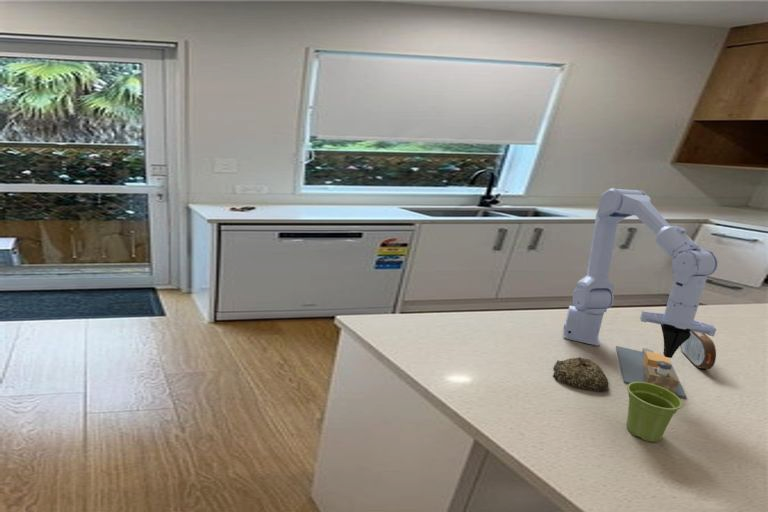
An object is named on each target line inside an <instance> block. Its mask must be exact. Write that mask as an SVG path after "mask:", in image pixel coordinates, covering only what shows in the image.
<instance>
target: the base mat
mask: <svg viewBox="0 0 768 512" xmlns="http://www.w3.org/2000/svg"><path fill="white" fill-rule="evenodd" d="M615 349H616V354H617V358H618V362H619V365H620V370H621V371H620V372H621V375H622V380H623V383H624V384H626V385H628V384H630V383H632V382H644V380H643V375H644V372H645V368H644V365H643V364H644V362H643V355H642V351H641V350H638V349H637V350H636V349H632V348H628V347H623V346H619V345H616V346H615ZM670 371H674V372H675V374H676V376H677V378H678V380H679V377H678V375H677V372H676V370H675V368H674V365H672V367H671V369H670ZM675 395H676V396H677V397H679V398H681V399H685V400H686V399H687V398H688V397H687V394H686V393H685V390H684V388H683V386H682V383H681V381H680V380H679V383H678V387H677V390H676V393H675Z"/></svg>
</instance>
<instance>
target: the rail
mask: <svg viewBox="0 0 768 512" xmlns="http://www.w3.org/2000/svg"><path fill="white" fill-rule="evenodd" d="M641 350H642V351H641V352H642V355H643V357H644V354H645V351H649V352H653V353H655V352H654V350H652V349H650V348H649V349H648V348H644V347H643V348H642V349H641Z"/></svg>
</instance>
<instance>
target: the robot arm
mask: <svg viewBox="0 0 768 512" xmlns="http://www.w3.org/2000/svg"><path fill="white" fill-rule="evenodd" d="M651 200H652V199H651V197H650V196H649V195H647V194H646V192H645V191H644V190H641V189H634V190H633V189H624V188H623V189H621V188H612V187H611V188H608V189H607V190H605V191H604V192H603V193H601V194H600V196H599V200H598V206H597V212H596V214H595V220H594V227H593V233H592V240H591V245H590V252H589V259H588V263H587V264H588V265H587V272H586V275H585V276H584V277H583V278H581V279H579V280H578V281H577V282H576V287H575V289H574V291H573V292H572V303H573V305H569V306H568V310H567V313H566V317H565V318H566V319H565V322H564V323H563V324H564V325H563V328H562V329H563V338H564V339H567V340H571V341H575V342H580V343H583V344H584V343H585V344H588V345H592V346H597V347H598V346H600V345H601V343H600V339H599V334H600V331H601V327H602V323H603V318H604V313H607V310H609V309H610V308H611V307H612V306H613V304H614V302H615V297H614V284H612V282H611V281H610V280H609V272H610V268H611V261H612V255H613V250H614V243H615V237H616V232H617V231H616V230H617V227H618V226H617V225H618V223H620V222H621V221H623V220H624V219H626V218H628V217H632V216H635V217H637V218H638V220H640V221H641V222H642V223H643V224H644V225H645V226H646V227H647V228H649V230H651V231H652V232H653V233H654V234H655V235H656V238H655V243H656V244H657V245H658V246H659V247H660V248H661V250H662V251H664V253H665V254H666V255H668V257H669V259H670V260H671V261H672V262H671V263H672V270H673V275H672V278H673V283H672V285H671V289H670V293H669V297H668V299H667V304H666V308H665V311H664V313H660V312H658V313H657V312H650V311H649V312H648V311H643V310H642V311H641V314H640V317H639V319H640V322H641V323H643V322H644V323H652V324H657V325H660V327H661V331H662V336H663V354H662V355H664V356H665V357H668V358H669V359H672V358H673V357H674V355H675V353H676V351H677V350H678V349H679V348H681V347H680V346H681V345H682V344H683V343H684V342H685V341H686V340H687V339H689V338H690V336H691V334H690V331H694V332H699V333H704V334H706V335H707V336H708V337H715V334H716V332H717V327H716V326H715V325H713V324H708V323H704V322H701V321H698V320H695V318H696V314H697V311H698V308H699V304H700V302H701V299H702V295H703V292H704V288H705V286H706V282H707V280H708V279H707V278H708V276H711V275H712V274H714V273H715V272H716V270H717V269H718V260H717V257H716V255H715V254H714V252H713V251H712V250H709V249H703V248H702V247H700V244H699V243H697V242H694V240H693V239H691V237H690V236H689V235H687V234H686V233H687V231H686V229H685V228H684V227H680V226H677V225H670V224H669V222H668V221H667V220H666V219H665V217H663V216H662V214H661V213H660V212H659V210H657V208H656V207H655V206H654V205H653V204H652V202H651Z"/></svg>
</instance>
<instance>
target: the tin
mask: <svg viewBox="0 0 768 512" xmlns="http://www.w3.org/2000/svg"><path fill="white" fill-rule="evenodd" d="M690 334H691V336H690V338H689V339H687V340H686V341H685V342H684V343H683V344H682V345H681V346H680V347H679V348H680V350H681V352H682V354H683V355H684V356H685V357H686V358H687V359H688V361H689V362H690V363H692V365H694V367H695V368H698V369H705V370H710V369H712V368H713V367H714V365H715V364H716V360H717V359H716V357H717V349H716V345H715V343H714V341H713V339H711V338H710V336H709V335H708V334H704V333H699V332H694V331H690Z"/></svg>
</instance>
